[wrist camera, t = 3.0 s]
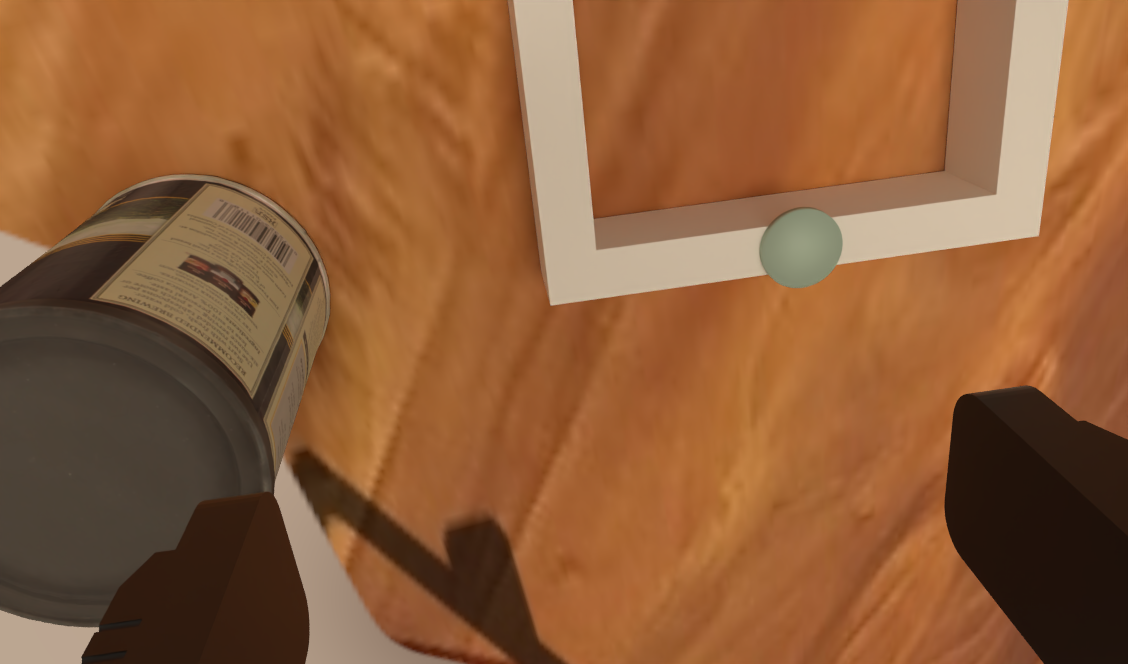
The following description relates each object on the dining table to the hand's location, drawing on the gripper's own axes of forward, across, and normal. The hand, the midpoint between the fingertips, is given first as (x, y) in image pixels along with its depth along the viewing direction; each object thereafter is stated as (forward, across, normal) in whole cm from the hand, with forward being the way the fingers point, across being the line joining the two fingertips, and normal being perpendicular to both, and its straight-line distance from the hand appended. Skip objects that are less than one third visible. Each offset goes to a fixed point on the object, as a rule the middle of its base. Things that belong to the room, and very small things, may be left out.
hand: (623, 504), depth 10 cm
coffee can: (+27, +14, +6) cm, 31 cm away
